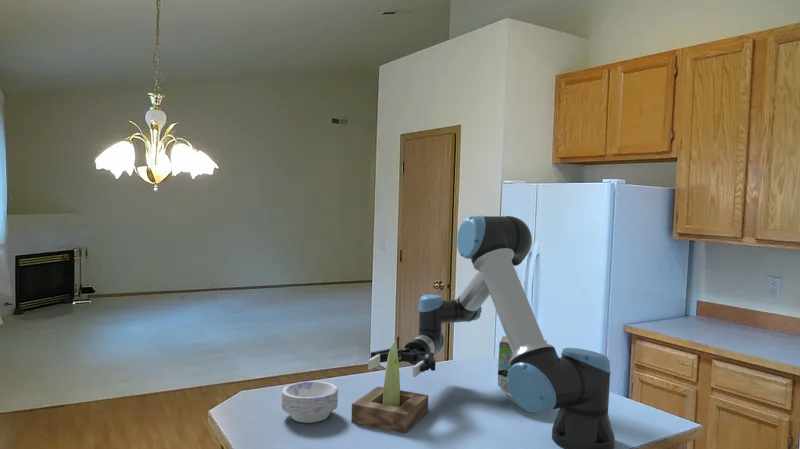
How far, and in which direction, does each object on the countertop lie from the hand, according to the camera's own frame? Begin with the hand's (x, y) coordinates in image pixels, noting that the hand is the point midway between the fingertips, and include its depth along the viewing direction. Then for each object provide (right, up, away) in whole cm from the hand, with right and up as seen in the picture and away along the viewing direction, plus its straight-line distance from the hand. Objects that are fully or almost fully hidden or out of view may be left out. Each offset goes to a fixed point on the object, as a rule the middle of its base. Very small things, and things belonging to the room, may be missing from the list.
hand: (391, 368), depth 152 cm
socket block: (0, -14, +1) cm, 14 cm away
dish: (+40, -15, +12) cm, 44 cm away
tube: (0, -13, +1) cm, 13 cm away
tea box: (+43, -14, +32) cm, 55 cm away
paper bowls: (-23, -13, -1) cm, 26 cm away
